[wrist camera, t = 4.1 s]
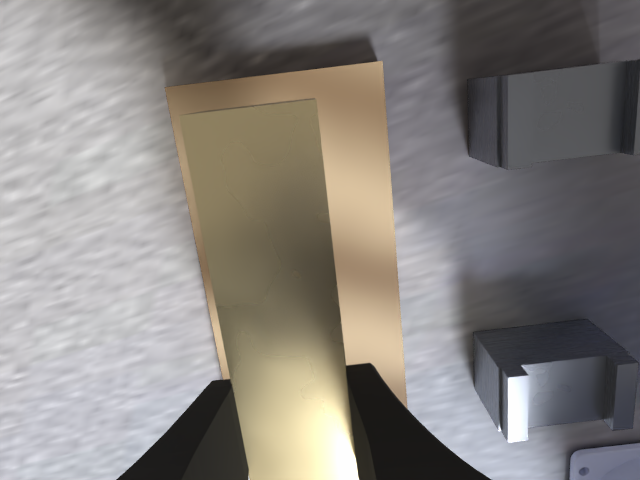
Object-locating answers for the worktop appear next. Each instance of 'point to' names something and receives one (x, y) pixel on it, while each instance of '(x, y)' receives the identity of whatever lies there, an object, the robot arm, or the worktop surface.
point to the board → (329, 198)
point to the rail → (275, 284)
